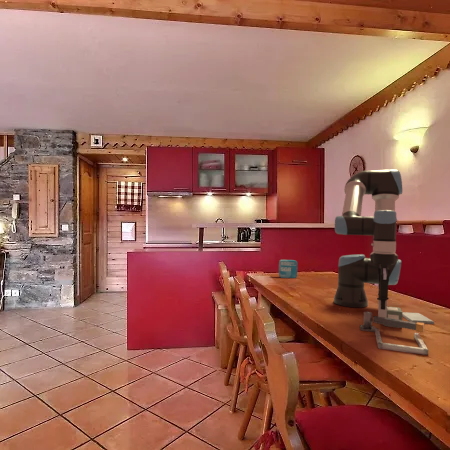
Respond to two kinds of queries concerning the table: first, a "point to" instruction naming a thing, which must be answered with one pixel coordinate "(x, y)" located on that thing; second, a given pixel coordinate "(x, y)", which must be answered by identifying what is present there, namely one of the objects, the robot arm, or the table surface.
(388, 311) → the panel
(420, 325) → the cable arm
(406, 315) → the hard drive
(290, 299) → the table surface
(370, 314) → the post
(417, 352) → the frame
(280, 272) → the data package
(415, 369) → the table surface
